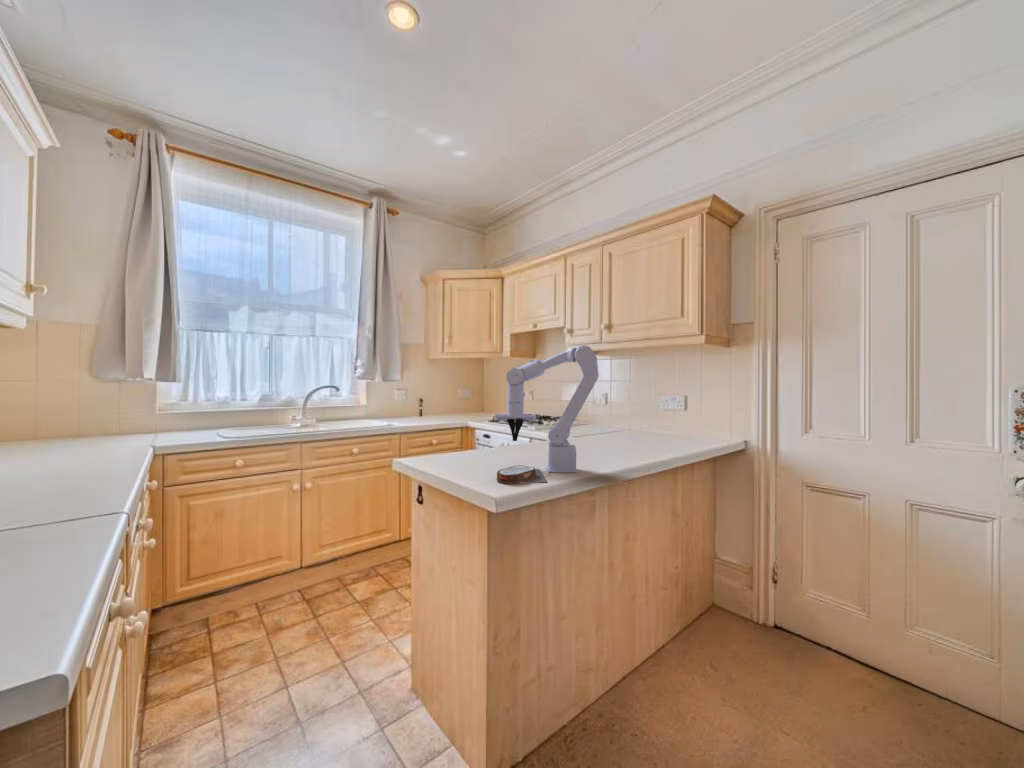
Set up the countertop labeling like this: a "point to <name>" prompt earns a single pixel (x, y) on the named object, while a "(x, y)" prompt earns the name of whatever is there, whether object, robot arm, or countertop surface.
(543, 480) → the mat
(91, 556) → the countertop surface
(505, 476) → the tin
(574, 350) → the robot arm
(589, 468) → the countertop surface
